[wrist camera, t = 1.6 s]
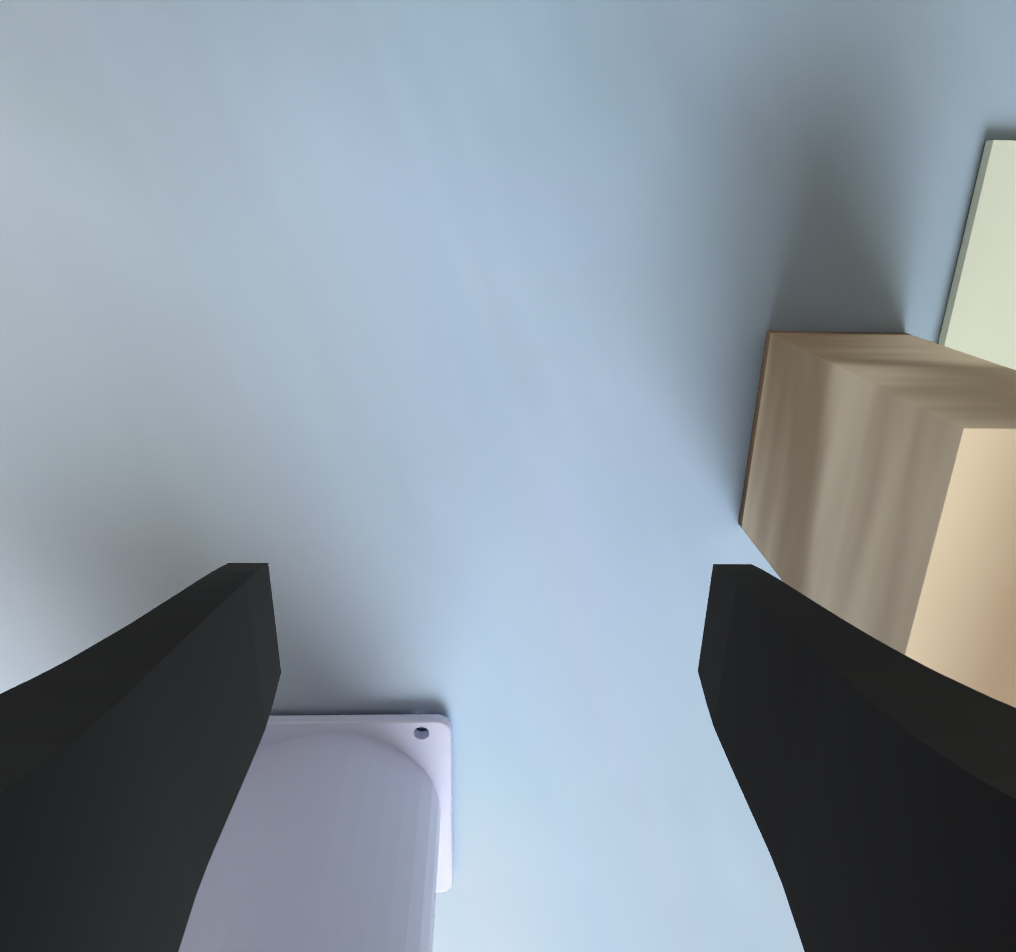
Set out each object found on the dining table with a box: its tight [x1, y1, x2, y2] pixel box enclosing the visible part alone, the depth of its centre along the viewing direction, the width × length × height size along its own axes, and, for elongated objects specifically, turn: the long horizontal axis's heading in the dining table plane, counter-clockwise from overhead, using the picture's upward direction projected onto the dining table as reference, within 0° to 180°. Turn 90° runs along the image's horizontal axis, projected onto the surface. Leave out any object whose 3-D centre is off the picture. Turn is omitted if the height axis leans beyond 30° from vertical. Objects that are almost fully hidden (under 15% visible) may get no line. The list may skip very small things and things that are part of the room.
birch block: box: [738, 331, 1016, 708], centre depth 18 cm, size 4×6×9 cm, turn 179°
